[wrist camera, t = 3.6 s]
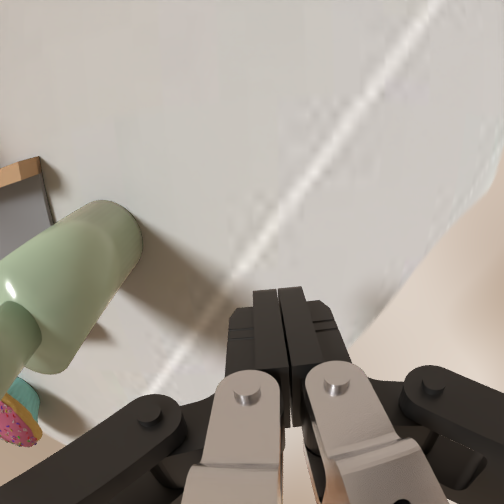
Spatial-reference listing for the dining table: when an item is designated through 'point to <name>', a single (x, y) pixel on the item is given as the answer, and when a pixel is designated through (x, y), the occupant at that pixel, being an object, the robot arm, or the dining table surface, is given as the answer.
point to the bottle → (62, 287)
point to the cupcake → (20, 415)
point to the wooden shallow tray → (22, 204)
